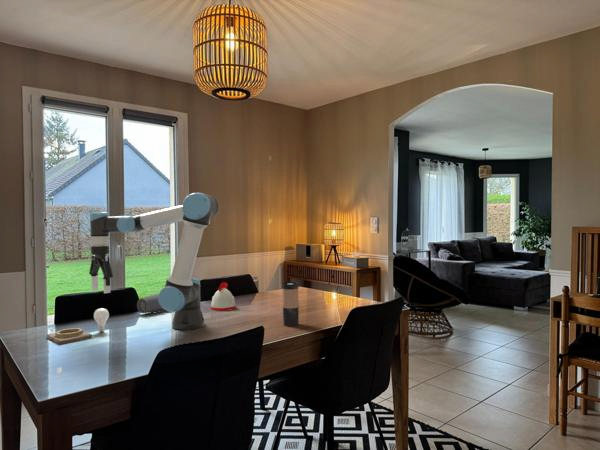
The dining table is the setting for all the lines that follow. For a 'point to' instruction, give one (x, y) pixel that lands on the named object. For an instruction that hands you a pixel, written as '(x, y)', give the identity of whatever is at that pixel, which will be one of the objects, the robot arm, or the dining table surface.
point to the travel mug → (290, 304)
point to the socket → (69, 335)
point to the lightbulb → (101, 318)
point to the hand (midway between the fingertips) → (100, 291)
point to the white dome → (223, 299)
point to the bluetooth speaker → (149, 304)
